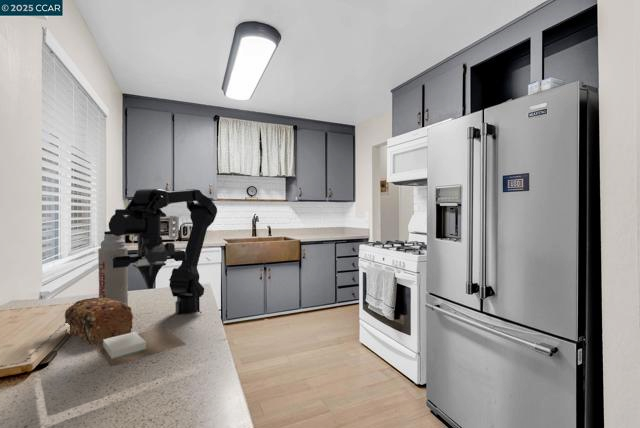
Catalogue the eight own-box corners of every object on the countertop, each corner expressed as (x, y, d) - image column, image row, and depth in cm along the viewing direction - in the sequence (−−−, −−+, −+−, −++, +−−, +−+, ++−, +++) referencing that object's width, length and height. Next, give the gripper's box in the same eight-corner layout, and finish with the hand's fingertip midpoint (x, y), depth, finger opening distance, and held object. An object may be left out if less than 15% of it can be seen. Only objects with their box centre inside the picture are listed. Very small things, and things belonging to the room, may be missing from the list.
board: (164, 331, 90) (163, 327, 90) (186, 348, 79) (186, 343, 79) (96, 348, 79) (96, 344, 79) (110, 371, 67) (110, 366, 67)
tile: (135, 331, 82) (103, 339, 77) (145, 341, 75) (111, 351, 70) (135, 339, 82) (103, 347, 77) (146, 349, 75) (111, 359, 70)
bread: (133, 337, 86) (133, 301, 86) (88, 351, 78) (87, 311, 78) (105, 323, 97) (105, 291, 97) (62, 334, 89) (62, 298, 89)
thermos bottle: (102, 322, 98) (101, 232, 98) (96, 316, 103) (95, 231, 103) (131, 315, 104) (130, 230, 104) (123, 310, 109) (123, 229, 109)
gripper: (118, 237, 77) (118, 300, 77) (194, 233, 90) (194, 287, 90) (107, 234, 85) (108, 292, 85) (179, 231, 98) (179, 281, 98)
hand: (149, 288), depth 89 cm, fingers closed
